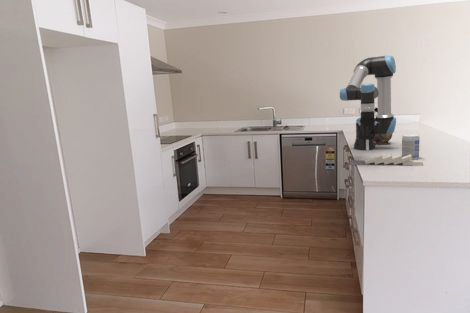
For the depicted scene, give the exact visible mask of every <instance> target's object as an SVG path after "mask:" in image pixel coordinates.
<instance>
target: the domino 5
mask: <svg viewBox="0 0 470 313" xmlns="http://www.w3.org/2000/svg"><path fill="white" fill-rule="evenodd" d="M403 165H413V166H424V161H423V160H419V159H416V160H408V161H405V162H403Z"/></svg>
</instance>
